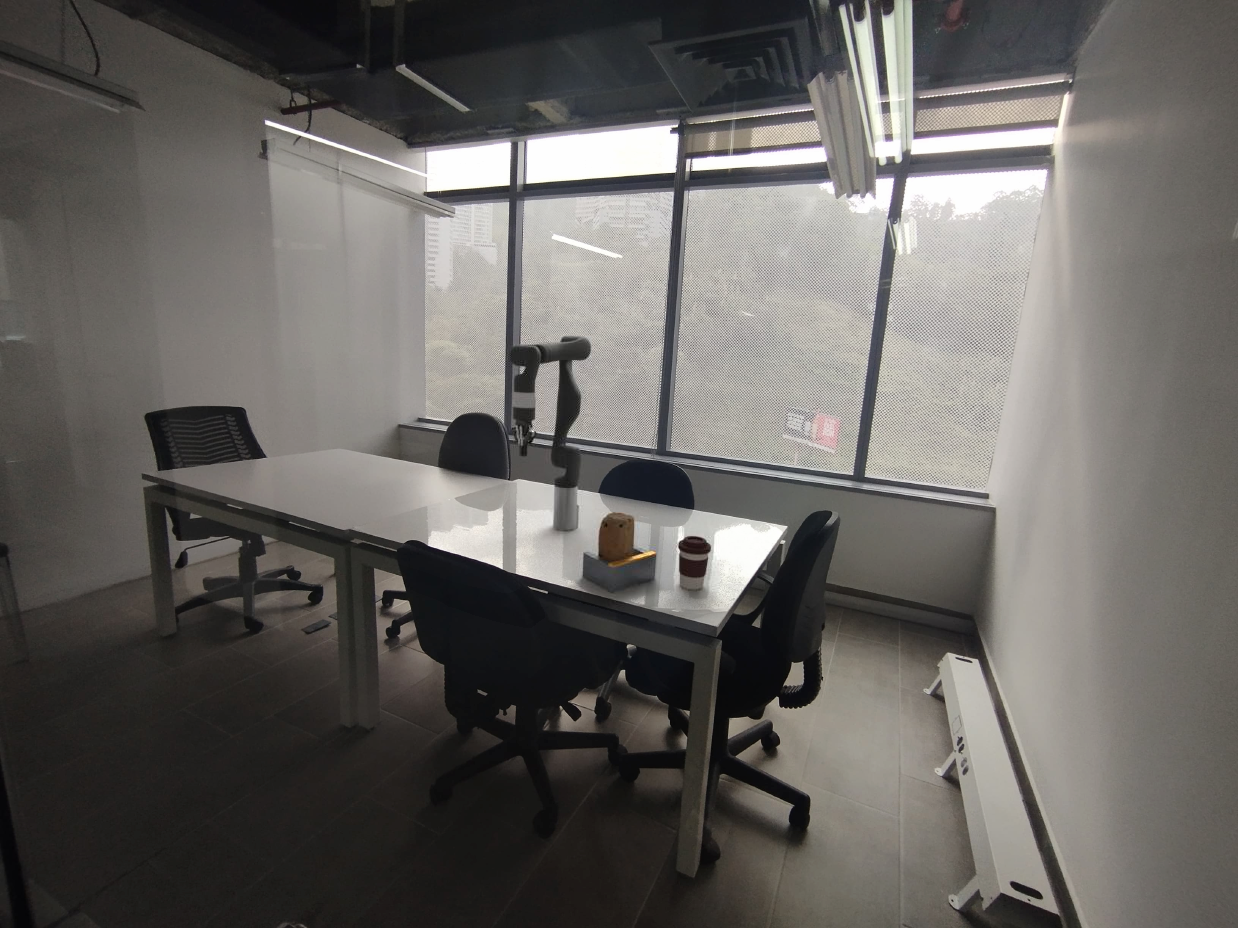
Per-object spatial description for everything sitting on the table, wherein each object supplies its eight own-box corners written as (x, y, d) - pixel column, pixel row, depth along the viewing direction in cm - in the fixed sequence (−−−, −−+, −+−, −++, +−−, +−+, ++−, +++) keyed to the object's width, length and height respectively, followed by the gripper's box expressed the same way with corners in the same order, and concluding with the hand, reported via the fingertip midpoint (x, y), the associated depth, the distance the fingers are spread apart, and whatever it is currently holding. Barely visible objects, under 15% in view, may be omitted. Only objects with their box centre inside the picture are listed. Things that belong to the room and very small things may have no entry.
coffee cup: (689, 576, 171) (692, 531, 168) (713, 586, 164) (718, 540, 161) (668, 583, 164) (672, 537, 161) (693, 595, 157) (697, 547, 154)
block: (633, 574, 170) (637, 514, 166) (625, 583, 163) (628, 521, 159) (602, 568, 174) (605, 509, 170) (593, 576, 167) (596, 515, 163)
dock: (625, 564, 178) (626, 540, 176) (654, 578, 167) (656, 553, 166) (582, 576, 166) (583, 550, 164) (611, 592, 156) (613, 565, 154)
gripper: (544, 407, 176) (543, 458, 180) (523, 403, 186) (522, 452, 189) (524, 408, 171) (523, 460, 175) (504, 403, 181) (503, 453, 184)
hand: (523, 456), depth 182 cm, fingers closed
